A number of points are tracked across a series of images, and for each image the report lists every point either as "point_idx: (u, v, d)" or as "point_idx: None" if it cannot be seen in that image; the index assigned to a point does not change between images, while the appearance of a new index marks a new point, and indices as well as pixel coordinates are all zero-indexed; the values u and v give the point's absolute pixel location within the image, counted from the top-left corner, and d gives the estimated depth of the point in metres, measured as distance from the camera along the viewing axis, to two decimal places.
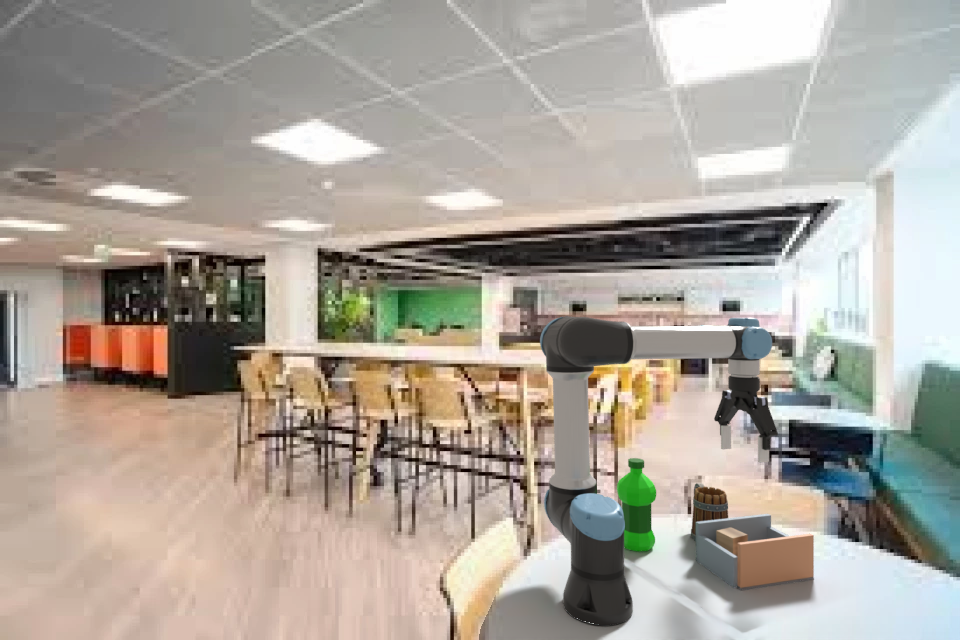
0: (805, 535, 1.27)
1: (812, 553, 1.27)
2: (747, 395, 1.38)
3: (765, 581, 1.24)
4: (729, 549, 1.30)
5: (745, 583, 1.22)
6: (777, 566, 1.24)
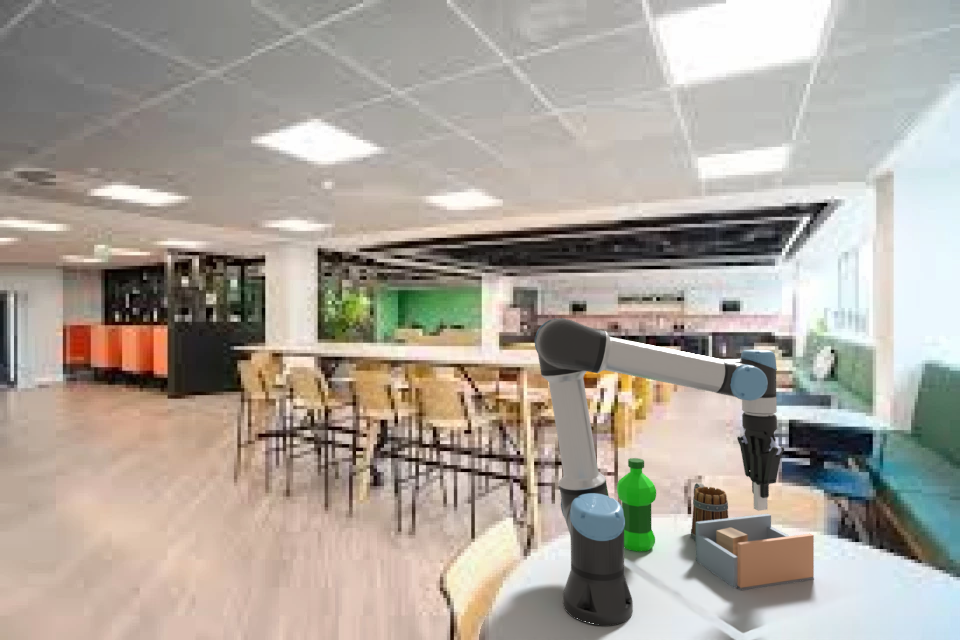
0: (805, 535, 1.27)
1: (812, 553, 1.27)
2: (765, 435, 1.26)
3: (765, 581, 1.24)
4: (729, 549, 1.30)
5: (745, 583, 1.22)
6: (777, 566, 1.24)
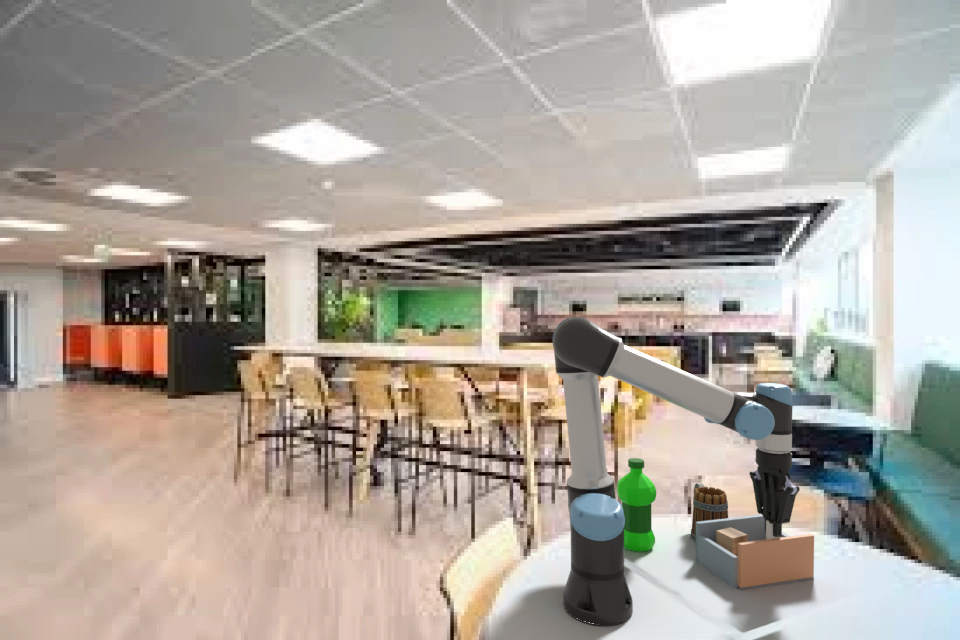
0: (806, 535, 1.26)
1: (812, 553, 1.27)
2: (780, 473, 1.22)
3: (765, 581, 1.24)
4: (729, 549, 1.30)
5: (745, 583, 1.22)
6: (777, 566, 1.24)
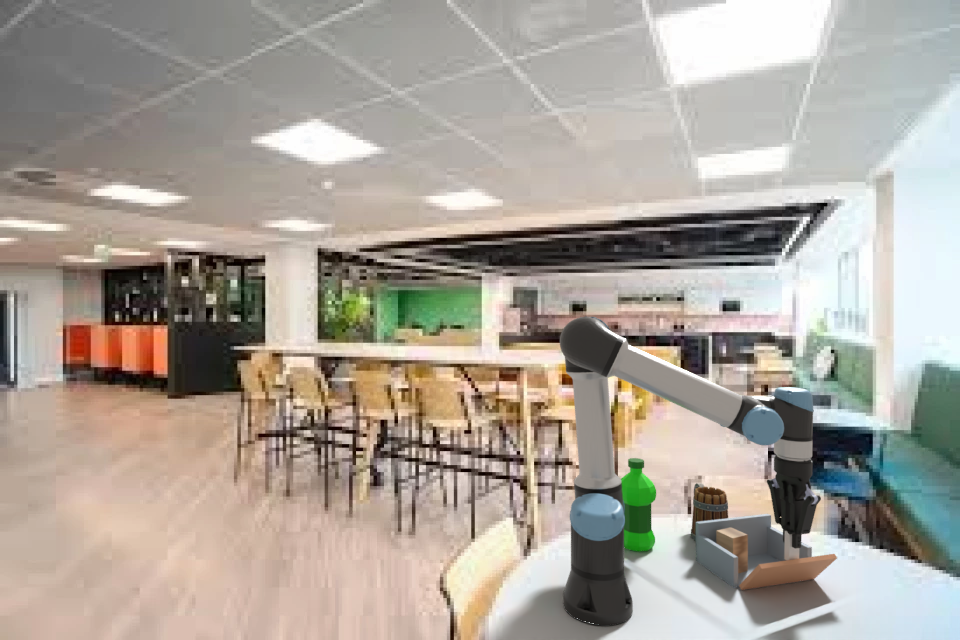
0: (829, 557, 1.20)
1: (826, 567, 1.23)
2: (800, 482, 1.16)
3: (767, 585, 1.23)
4: (729, 549, 1.30)
5: (747, 587, 1.22)
6: (786, 576, 1.22)
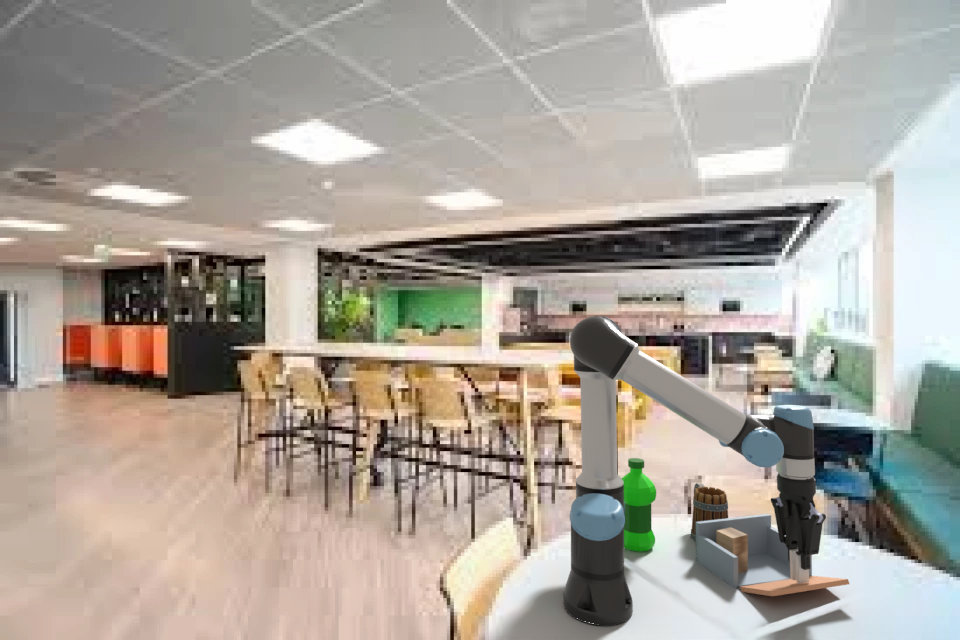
0: (841, 583, 1.17)
1: None
2: (804, 501, 1.16)
3: None
4: (729, 549, 1.30)
5: None
6: None
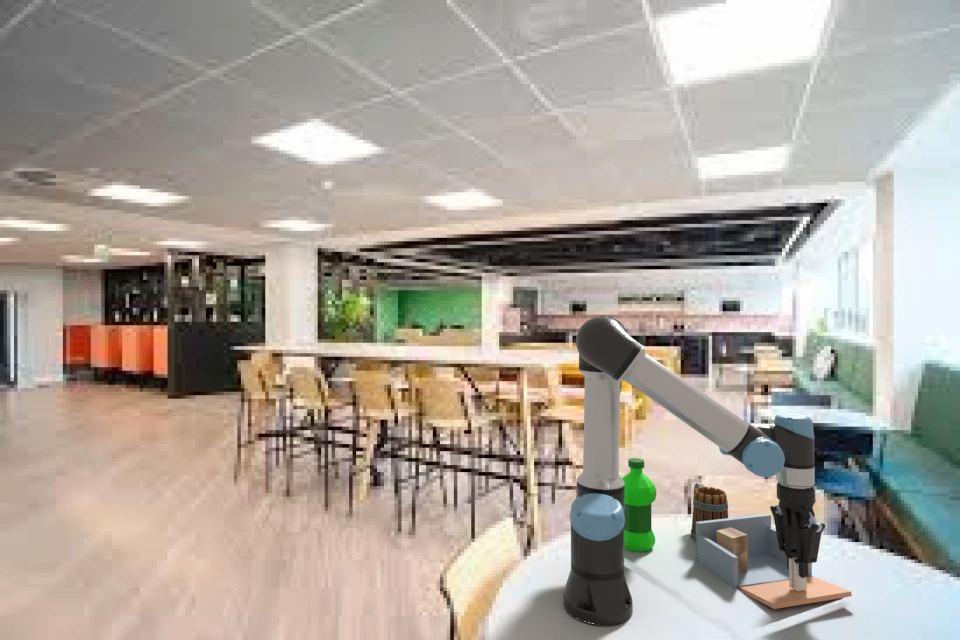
0: (844, 595, 1.17)
1: None
2: (803, 510, 1.16)
3: None
4: (729, 549, 1.30)
5: None
6: None
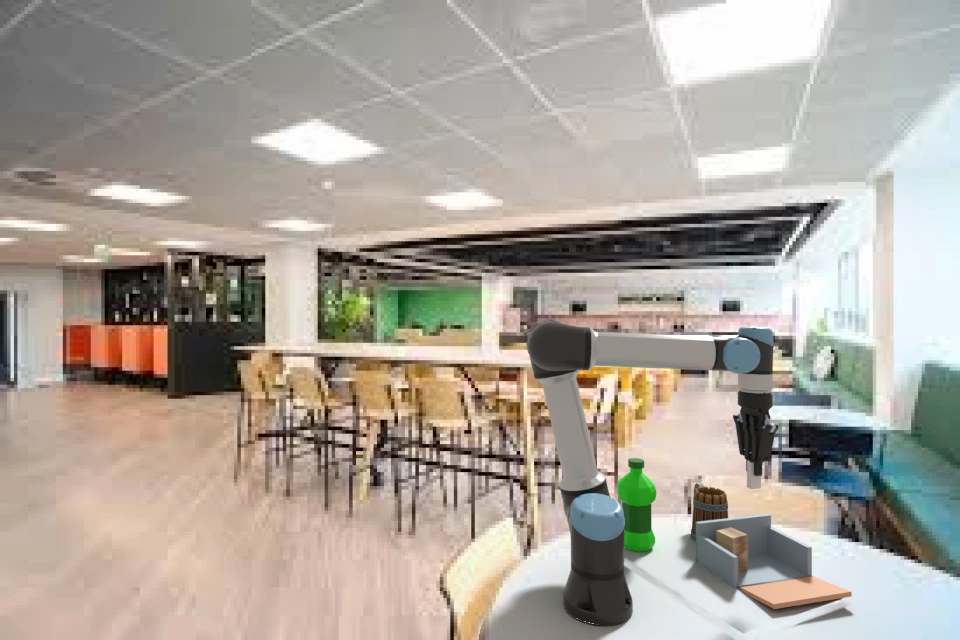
0: (844, 595, 1.17)
1: None
2: (760, 412, 1.25)
3: None
4: (729, 549, 1.30)
5: None
6: None
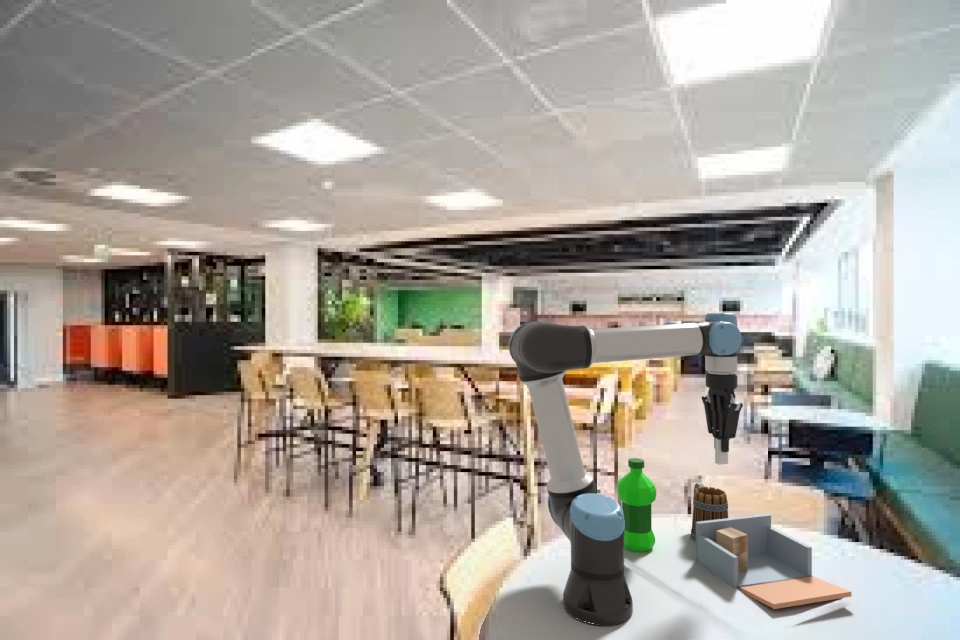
0: (844, 595, 1.17)
1: None
2: (726, 392, 1.34)
3: None
4: (729, 549, 1.30)
5: None
6: None
